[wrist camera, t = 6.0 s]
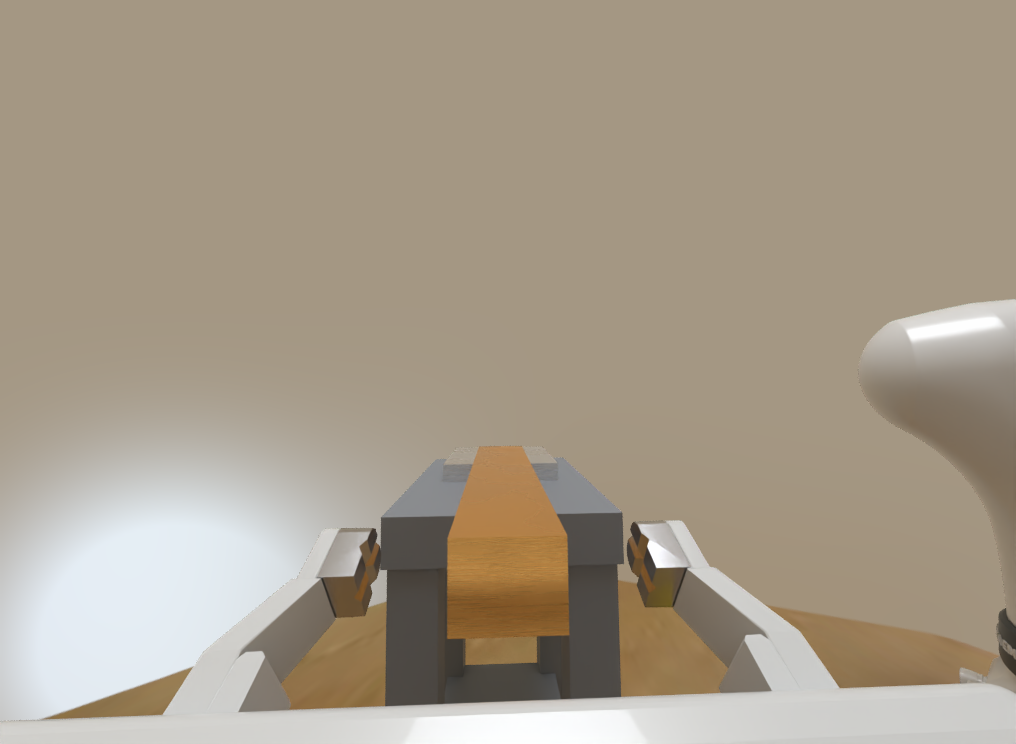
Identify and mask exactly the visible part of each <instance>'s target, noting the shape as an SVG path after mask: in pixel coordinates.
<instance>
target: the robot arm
mask: <svg viewBox="0 0 1016 744" xmlns="http://www.w3.org/2000/svg"><path fill="white" fill-rule="evenodd" d="M858 375H859V383H860V386H861V389H862V392H863V394H864V396H865V397H866V399H867V401H868V402H869V403H870V405H871V406H872V407H873V408H874V409H875V410H876V411H877V412H878V413H879V414H880V415H881V416H882V417H883V418H885V419H886V420H887V421H889V422H890V423H891V424H893V425H895V426H896V427H898V428H900V429H902V430H904V431H906V432H908V433H910V434H912V435H913V436H915V437H917V438H918V439H920V440H922V441H923V442H925V443H926V444H928V445H929V446H931V447H932V448H933V449H935V450H936V451H938V452H939V453H940V454H941V455H942V456H943V457H945V458H946V459H947V460H948V461H949V462H950V463H951V464H952V465H953V466H954V467H955V468H956V469H957V470H958V471H959V472H960V473H961V474H962V475H963V476H964V477H965V479H966V480H967V481H968V482H969V483H970V485H971V486H972V488H973V489H974V491H975V492H976V494H977V495H978V497H979V498H980V500H981V501H982V503H983V505H984V507H985V509H986V511H987V514H988V516H989V518H990V522H991V525H992V528H993V532H994V537H995V541H996V545H997V549H998V555H999V560H1000V565H1001V571H1002V578H1003V585H1004V593H1005V601H1006V608H1005V609H1003V610H1002V611H1000V613H999V623H998V624H997V629H996V630H997V639H998V642H999V653H1000V656H999V657H997V658H995V659H993V661H992V663H991V666H990V669H989V673H988V677H987V676H986V677H984V676H983V675H981V674H978V673H976V672H974V671H971V670H968V669H966V668H961V667H960V684H940V685H915V686H889V687H863V688H839V687H838V685H837V684H836V682H835V681H834V679H833V678H832V677H831V675H830V674H829V672H828V671H827V669H826V668H825V667H824V665H823V664H822V662H821V661H820V659H819V658H818V657H817V655H816V654H815V652H814V651H813V649H812V648H811V647H810V645H809V644H808V642H807V641H806V639H805V638H804V637H803V635H802V634H801V632H800V631H798V630H797V629H796V628H794V627H793V626H792V625H790V624H789V623H788V622H786V621H785V620H784V619H782V618H781V617H780V616H779V615H777V614H776V613H775V612H773V611H772V610H771V609H769V608H768V607H767V606H765V605H764V604H763V603H761V602H760V601H759V600H757V599H756V598H755V597H753V596H752V595H751V594H749V593H748V592H747V591H745V590H744V589H743V588H741V587H740V586H739V585H737V584H736V583H735V582H734V581H732V580H731V579H730V578H728V577H727V576H725V575H724V574H723V573H721V572H720V571H719V570H718V569H716V568H715V567H709V565H708V563H707V561H706V560H705V558H704V556H703V555H702V553H701V551H700V550H699V548H698V546H697V545H696V543H695V541H694V539H693V538H692V536H691V534H690V533H689V531H688V529H687V528H686V526H685V524H684V523H683V522H682V521H639V522H633V523H632V525H631V529H630V530H631V533H632V535H633V536H632V537H631V538H629V540H628V543H627V556H628V561H629V565H630V567H631V570H632V572H633V573H634V574H635V575H637V577H639V579H638V583H637V587H638V590H639V592H640V595H641V598H642V600H643V603H644V606H645V607H673V609H674V610H675V612H676V613H677V614H678V615H679V616H680V617H681V618H682V619H683V620H684V621H685V622H686V623H687V624H688V625H689V627H690V628H691V629H692V630H693V631H694V632H695V633H696V634H697V635H698V636H699V637H700V638H701V639H702V641H703V642H704V643H705V644H706V645H707V646H708V647H709V648H710V649H711V650H712V651H713V652H714V653H715V654H716V656H717V657H718V658H719V659H720V660H721V661H722V662H723V663H724V664H725V665H726V666H727V667H728V670H727V672H726V674H725V676H724V678H723V680H722V681H721V684H720V686H719V689H720V692H721V693H712V694H687V695H661V696H635V697H610V698H584V699H558V700H532V701H506V702H481V703H455V704H430V705H405V706H379V707H354V708H329V709H304V710H289V709H290V706H291V703H290V700H289V698H288V696H287V695H286V693H285V691H284V689H283V687H282V686H281V683H282V682H283V681H284V679H285V678H286V677H287V676H288V675H289V674H290V672H291V671H292V670H293V669H294V668H295V667H296V665H297V664H298V663H299V662H300V661H301V660H302V658H303V657H304V656H305V655H306V654H307V653H308V651H309V650H310V649H311V648H312V647H313V646H314V644H315V643H316V642H317V641H318V640H319V639H320V637H321V636H322V635H323V634H324V633H325V632H326V630H327V629H328V628H329V627H330V626H331V625H332V623H333V622H334V621H335V618H341V617H358V616H365V615H366V612H367V608H368V605H369V602H370V599H371V596H372V590H371V586H370V585H371V584H372V583H373V582H374V581H375V580H376V579H377V576H378V572H379V569H380V563H381V550H380V546H379V545H378V544H377V543H376V539H377V533H376V529H374V528H332V529H331V528H328V529H324V530H323V531H322V532H321V533H320V535H319V537H318V539H317V541H316V543H315V545H314V547H313V548H312V550H311V552H310V554H309V556H308V558H307V560H306V562H305V564H304V566H303V568H302V570H301V572H300V573H299V575H298V577H297V579H291V580H290V581H289V582H287V583H286V584H285V585H284V586H283V587H281V588H280V589H279V590H278V591H276V592H275V593H274V594H273V595H272V596H270V597H269V598H268V599H267V600H266V601H264V602H263V603H262V604H261V605H259V606H258V607H257V608H256V609H255V610H253V611H252V612H251V613H250V614H248V615H247V616H246V617H245V618H244V619H242V620H241V621H240V622H239V623H238V624H236V625H235V626H234V627H233V628H231V629H230V630H229V631H228V632H227V633H225V634H224V635H223V636H222V637H220V638H219V639H218V640H217V641H216V642H215V643H213V644H212V645H211V646H210V647H208V648H207V649H206V650H205V651H204V652H203V653H202V655H201V656H200V658H199V659H198V661H197V662H196V664H195V666H194V667H193V669H192V670H191V672H190V673H189V675H188V676H187V678H186V679H185V681H184V683H183V684H182V686H181V687H180V689H179V690H178V692H177V693H176V695H175V697H174V698H173V700H172V701H171V703H170V704H169V706H168V707H167V709H166V711H165V712H164V714H163V715H152V716H127V717H101V718H75V719H49V720H19V721H0V744H1016V299H1011V300H1001V301H991V302H980V303H969V304H965V305H960V306H955V307H951V308H946V309H941V310H937V311H932V312H927V313H923V314H919V315H915V316H911V317H907V318H903V319H899V320H894V321H891V322H889V323H888V324H886V325H885V326H884V327H883V328H881V329H880V330H879V331H878V332H877V333H876V334H875V335H874V336H873V337H872V339H871V340H870V341H869V342H868V344H867V345H866V347H865V349H864V351H863V353H862V355H861V358H860V362H859V369H858Z"/></svg>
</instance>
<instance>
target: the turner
mask: <svg viewBox="0 0 1016 744" xmlns="http://www.w3.org/2000/svg"><path fill="white" fill-rule="evenodd" d="M549 480H558V463H557V462H556V461H555V459H554V458H553V457H552V456H551V455H550V454H549V453H548V452H547V451H546V450H545V449H544V447H522V446H493V447H492V446H489V447H479V448H455V450H454V451H453V452H452V454H451V455H450V456H449V457H448V459H447V460H446V461H445V462H444V464H443V482H467V483H466V486H465V489H464V492H463V494H462V497H461V500H460V503H459V506H458V509H457V512H456V515H455V518H454V521H453V524H452V527H451V529H450V532H449V535H448V554H447V639H468V638H500V637H532V636H563V635H569V593H568V542H567V534H566V532H565V530H564V528H563V526H562V524H561V522H560V520H559V518H558V516H557V514H556V512H555V510H554V508H553V506H552V504H551V502H550V500H549V498H548V496H547V494H546V492H545V491H544V489H543V487H542V485H541V483H540V481H549Z"/></svg>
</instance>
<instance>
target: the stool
mask: <svg viewBox="0 0 1016 744" xmlns="http://www.w3.org/2000/svg"><path fill="white" fill-rule="evenodd" d="M554 459H555V461H556V462H557V463H558V480H549V481H540V483H541V485H542V487H543V489H544V491H545V492H546V494H547V496H548V498H549V500H550V502H551V504H552V506H553V508H554V510H555V512H556V514H557V516H558V518H559V520H560V522H561V524H562V526H563V528H564V530H565V532H566V534H567V542H568V593H569V635H563V636H537V663H517V664H487V665H465V639H447V554H448V535H449V532H450V529H451V527H452V524H453V521H454V518H455V515H456V512H457V509H458V506H459V503H460V500H461V497H462V494H463V492H464V489H465V486H466V483H467V482H443V464H444V462H445V461H446V460H447V459H440V460H439V459H437V460H435V461H434V462H433V463H432V464H431V466H430V467H429V468H428V469H427V470H426V471H425V472H424V473H423V474H422V475H421V476H420V477H419V478H418V479H417V481H415V482H414V483H413V485H412V486H411V487H410V488H409V489H408V490H407V491H406V492H405V493H404V494H403V495H402V496H401V497H400V498H399V499H398V500H397V501H396V502H395V503H394V505H393V506H392V507H391V508H390V509H389V510H388V511H387V512H386V513H385V514H384V515H383V516H382V517H381V566H380V569H381V570H387V619H386V694H385V706H405V705H430V704H455V703H481V702H506V701H532V700H558V699H584V698H610V697H621V680H620V644H619V609H618V577H617V576H618V574H617V564H624V554H623V521H622V512H621V511H620V510H619V509H618V508H616V506H615V505H613V504H612V503H611V502H610V501H609V500H608V499H607V498H606V497H605V496H604V495H603V494H602V493H601V492H599V491H598V490H597V489H596V488H595V487H594V486H593V485H592V484H591V483H590V482H589V481H587V479H585V478H584V477H583V476H582V475H581V474H580V473H579V472H578V471H577V470H576V469H575V468H573V466H571V465H570V464H569V463H568V462H567V461H566V460H565V459H564V458H554Z"/></svg>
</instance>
